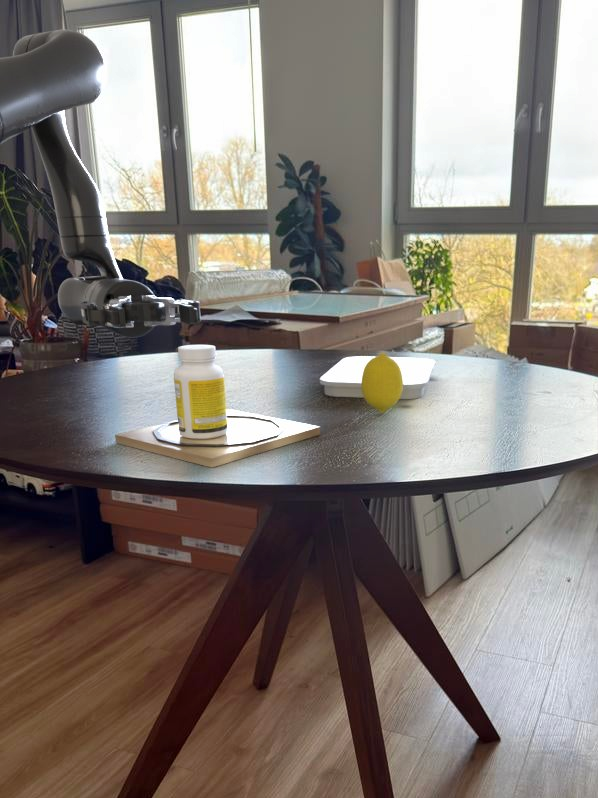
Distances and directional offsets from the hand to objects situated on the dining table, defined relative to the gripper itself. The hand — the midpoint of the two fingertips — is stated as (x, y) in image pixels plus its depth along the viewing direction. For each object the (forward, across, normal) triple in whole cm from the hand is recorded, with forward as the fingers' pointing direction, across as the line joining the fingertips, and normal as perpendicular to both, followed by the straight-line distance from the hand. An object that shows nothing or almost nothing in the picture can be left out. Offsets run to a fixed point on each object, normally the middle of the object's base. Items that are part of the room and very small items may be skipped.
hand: (158, 316), depth 88 cm
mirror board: (+12, +2, +13) cm, 18 cm away
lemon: (+11, +26, +13) cm, 31 cm away
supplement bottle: (+13, 0, +12) cm, 18 cm away
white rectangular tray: (-8, +38, +13) cm, 41 cm away
